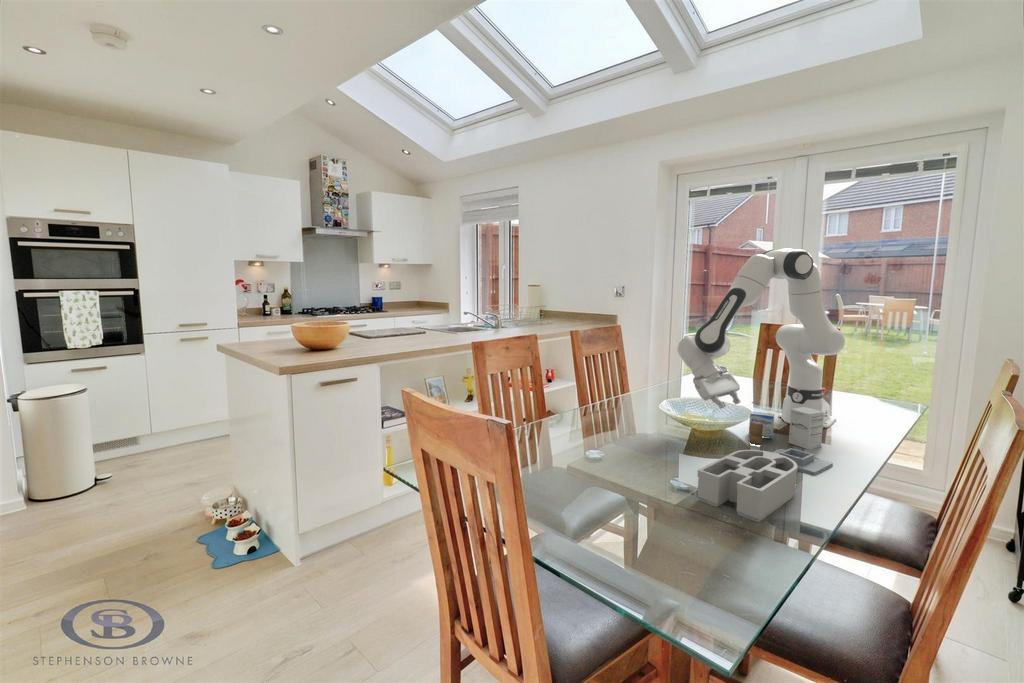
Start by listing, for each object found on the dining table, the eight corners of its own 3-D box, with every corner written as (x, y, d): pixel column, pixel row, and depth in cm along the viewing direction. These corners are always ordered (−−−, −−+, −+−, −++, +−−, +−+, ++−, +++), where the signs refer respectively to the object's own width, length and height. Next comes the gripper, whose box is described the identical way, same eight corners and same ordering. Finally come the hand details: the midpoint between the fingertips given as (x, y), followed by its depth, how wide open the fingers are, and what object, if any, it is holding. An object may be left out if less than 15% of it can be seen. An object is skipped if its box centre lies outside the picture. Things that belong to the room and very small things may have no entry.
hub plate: (780, 451, 165) (780, 442, 165) (832, 466, 152) (833, 456, 152) (761, 459, 158) (761, 450, 158) (814, 475, 146) (815, 465, 145)
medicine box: (748, 436, 181) (749, 413, 179) (749, 433, 185) (750, 410, 183) (772, 439, 177) (774, 416, 176) (772, 436, 181) (774, 413, 180)
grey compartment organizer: (695, 501, 131) (697, 470, 130) (745, 473, 149) (746, 445, 147) (759, 525, 118) (761, 491, 117) (805, 491, 136) (807, 461, 135)
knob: (752, 442, 174) (754, 420, 173) (764, 445, 171) (765, 423, 170) (746, 445, 172) (747, 423, 171) (757, 448, 168) (759, 425, 167)
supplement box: (787, 443, 173) (790, 408, 171) (802, 440, 176) (804, 406, 174) (807, 450, 166) (810, 413, 165) (822, 446, 169) (824, 411, 167)
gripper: (696, 372, 176) (720, 405, 169) (729, 366, 188) (752, 396, 181) (685, 382, 180) (708, 414, 174) (717, 375, 192) (740, 405, 185)
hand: (731, 405), depth 177 cm, fingers open, 8 cm apart
